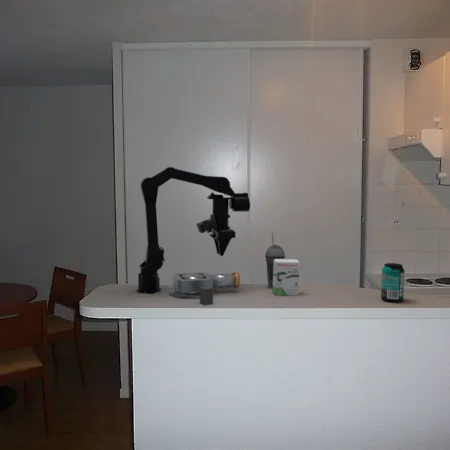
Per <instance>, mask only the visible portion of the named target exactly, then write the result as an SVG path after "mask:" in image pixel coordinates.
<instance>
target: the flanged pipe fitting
mask: <svg viewBox="0 0 450 450" xmlns="http://www.w3.org/2000/svg"><path fill="white" fill-rule="evenodd" d="M186 274H200V275H203V279H184V280H183V279H182V275H186ZM240 279H241V278H240V274H239V271H237V272H236V271H235V272H227V273H224V272H223V273H222V272H221V273H208V272H204V271H203V272H202V271H201V272H183V273H182V272H181V273H180V272H179V273H174V274H172V287H173V288H174V290H176V291H177V292H181V293H188V292H200V288H201V287H206V286H208V287H211V288H215V289H227V288H234V289H235V288H240V284H241V280H240Z"/></svg>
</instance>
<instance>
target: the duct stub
mask: <svg viewBox="0 0 450 450" xmlns="http://www.w3.org/2000/svg"><path fill="white" fill-rule="evenodd" d="M182 279H183V280H184V279H203V275H200V274H186V275H182ZM214 291H216V288H213V293H214ZM168 295H169V297H177V298H185V299H186V298H188V299H197V300H200V292H188V293H181V292H177V291H176V290H175V289H174V290H173V291H170V292H168Z"/></svg>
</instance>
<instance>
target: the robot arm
mask: <svg viewBox="0 0 450 450" xmlns="http://www.w3.org/2000/svg"><path fill="white" fill-rule="evenodd" d="M171 179H173V180H177V181H182V182H186V183H190V184H194V185H198V186H202V187H204V188H207V189H209V190H211V191H213V192H210V193H209V195H207V197H206V199H208V200H212V213H211V214H210V216H209V217H210V218H208V219H205V220H202V221H200V222H198V223H196V224H195V225H196V228H197V230H198V233H201V234H204V233H205V232H206V233H207V234H208V235H209V236H210V237H211V238H212V239H213V241H214V245H215V250H216V254H217V255H219V256H221V257H223V256H224V255H225V253H226V250H227V248H228V246H229V244H230V242H231V240H232V239H235V238H236V231H235V230H234V229H232V228H231V226H229V219H230V218H231V215H230V214H229V209H230V210H231V211H232V212H234V213H235V212H236V213H237V212H240V213H242V212H250V208H251V201H250V197H249V192H241V193H240V192H239V193H238V192H237V193H235V191H234V189H233V188H232V187H231V182H230V180H229V178H227V177H225V176H217V175H215V176H214V175H204V174H199V173H197V172H196V173H195V172H191V171H187V170H183V169H179V168H175V167H173V166H167V167H165V168H164V169H163V170H162V171H160V172H158V173H156V174H155V175H153V176H152V177H150V176H149V177H145V178H143V179H142V180H141V181H140V190H141V194H142V198H143V202H144V209H145V222H146V223H145V225H146V240H147V242H146V243H147V244H146V249H145V257H144V258H145V259H144V260H143V262H142V263H141V264H140V265H139V267H138V268H139V270H140V272H139V273H137V274H138V275H137V276H138V280H137V281H138V289H135V291H136V292H139V293H149V294H154V293H155V292H158V291H160V290H161V287H160V284H161V283H160V277H159V272H158V271H159V270H161V268H162V267H163V266H164V262H166V260H165V257H164V255H165V248H164V247H163V246H160V244H159V234H158V232H159V231H158V218H157V199H158V195H159V188H160V187H161V186H162V185H164V184H166V183H167V182H168V181H170V180H171ZM214 192H215V193H214ZM216 193H218V194H216ZM219 193H220V194H219ZM224 195H225V197H224ZM227 196H228V197H227Z"/></svg>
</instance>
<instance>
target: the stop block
mask: <svg viewBox="0 0 450 450" xmlns="http://www.w3.org/2000/svg"><path fill="white" fill-rule="evenodd" d="M199 304H202V305H205V306H206V305H211V304H214V292H213V288H211V287H208V286H206V287H201V288H200V299H199Z"/></svg>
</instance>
